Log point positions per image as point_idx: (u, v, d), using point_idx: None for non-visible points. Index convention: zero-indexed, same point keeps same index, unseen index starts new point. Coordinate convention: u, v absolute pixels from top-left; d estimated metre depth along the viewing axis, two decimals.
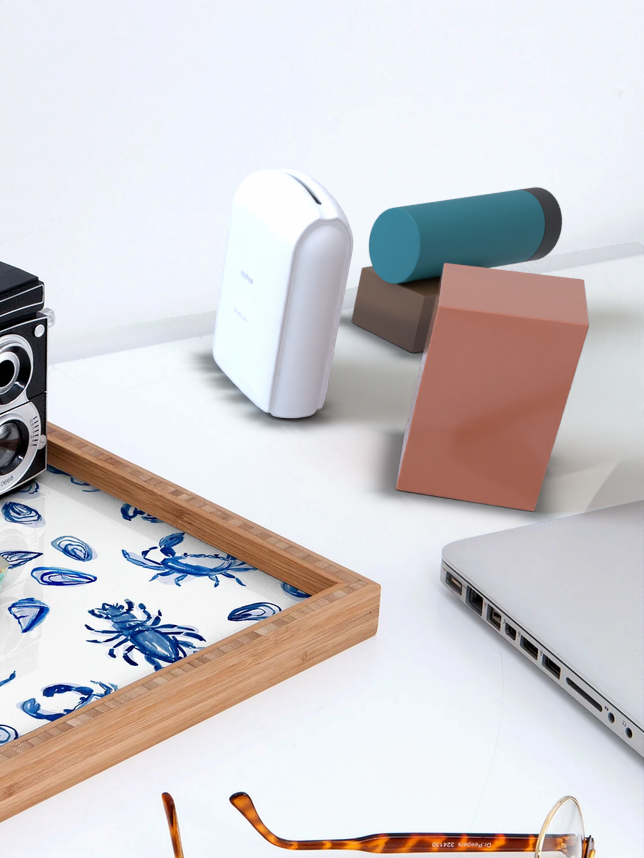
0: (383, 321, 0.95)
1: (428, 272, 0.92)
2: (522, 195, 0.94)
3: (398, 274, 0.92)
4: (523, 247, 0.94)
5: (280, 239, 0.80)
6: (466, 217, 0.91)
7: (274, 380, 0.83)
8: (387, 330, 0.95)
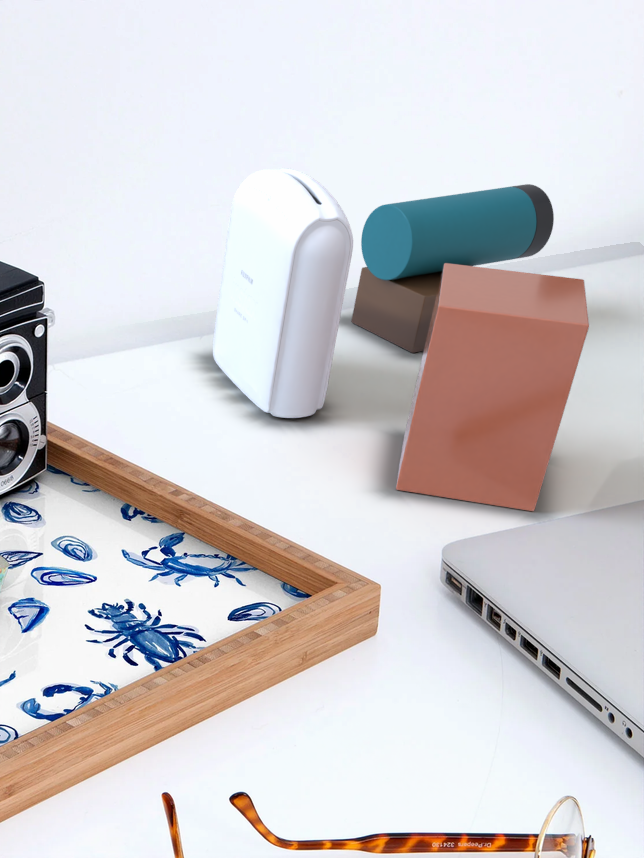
0: (383, 321, 0.95)
1: (426, 259, 0.92)
2: (506, 188, 0.95)
3: (396, 267, 0.92)
4: (518, 233, 0.94)
5: (280, 239, 0.80)
6: (453, 205, 0.92)
7: (274, 380, 0.83)
8: (387, 330, 0.95)
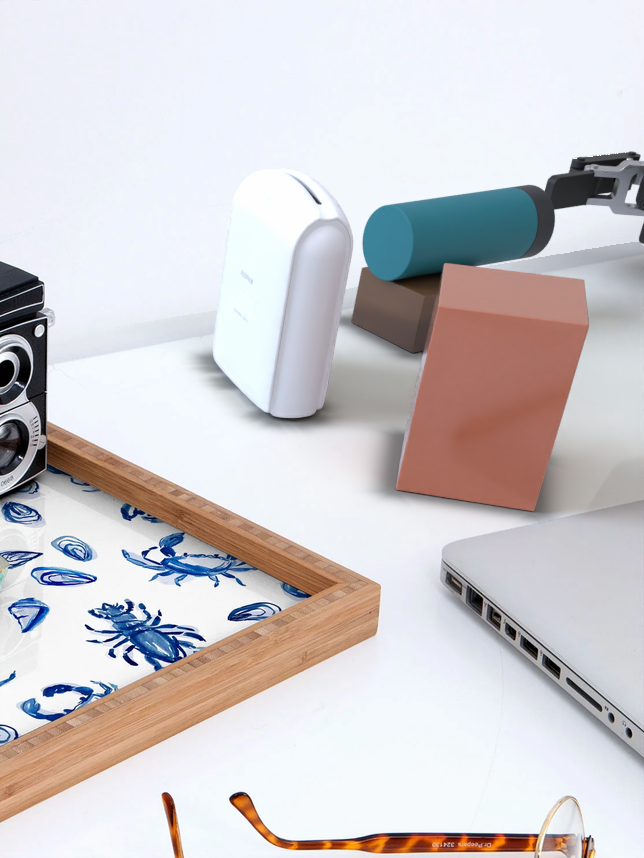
0: (383, 321, 0.95)
1: (426, 261, 0.92)
2: (509, 189, 0.95)
3: (396, 268, 0.92)
4: (519, 235, 0.94)
5: (280, 239, 0.80)
6: (455, 207, 0.92)
7: (274, 380, 0.83)
8: (387, 330, 0.95)
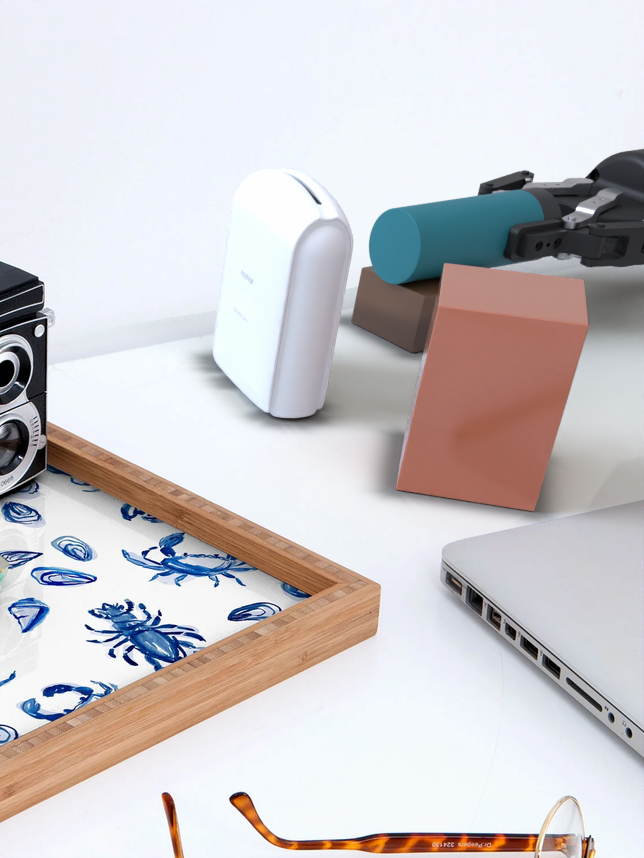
0: (383, 321, 0.95)
1: (428, 272, 0.92)
2: (522, 196, 0.94)
3: (398, 275, 0.92)
4: None
5: (280, 239, 0.80)
6: (467, 218, 0.91)
7: (274, 380, 0.83)
8: (387, 330, 0.95)
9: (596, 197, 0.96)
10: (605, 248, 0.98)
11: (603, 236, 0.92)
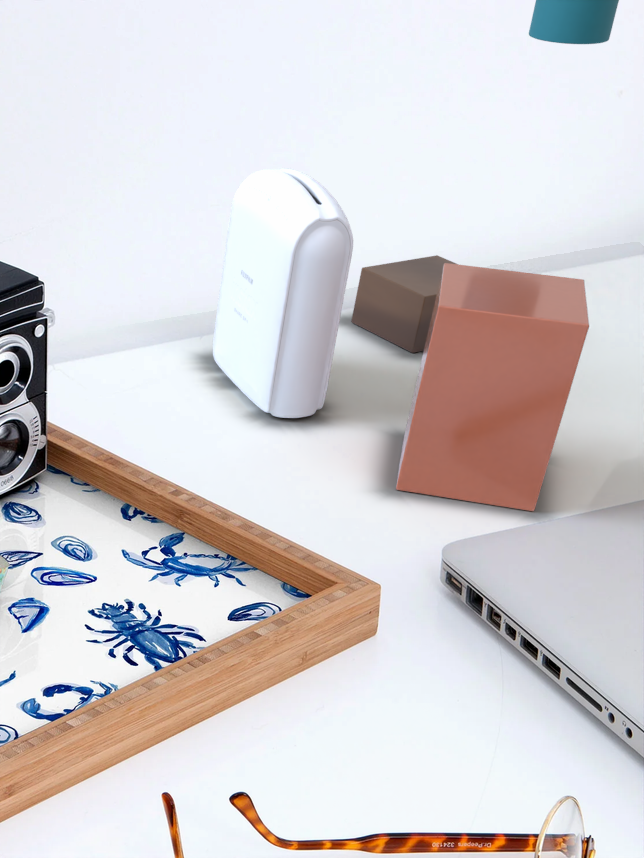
0: (383, 321, 0.95)
1: None
2: None
3: None
4: None
5: (280, 239, 0.80)
6: None
7: (274, 380, 0.83)
8: (387, 330, 0.95)
9: None
10: None
11: None
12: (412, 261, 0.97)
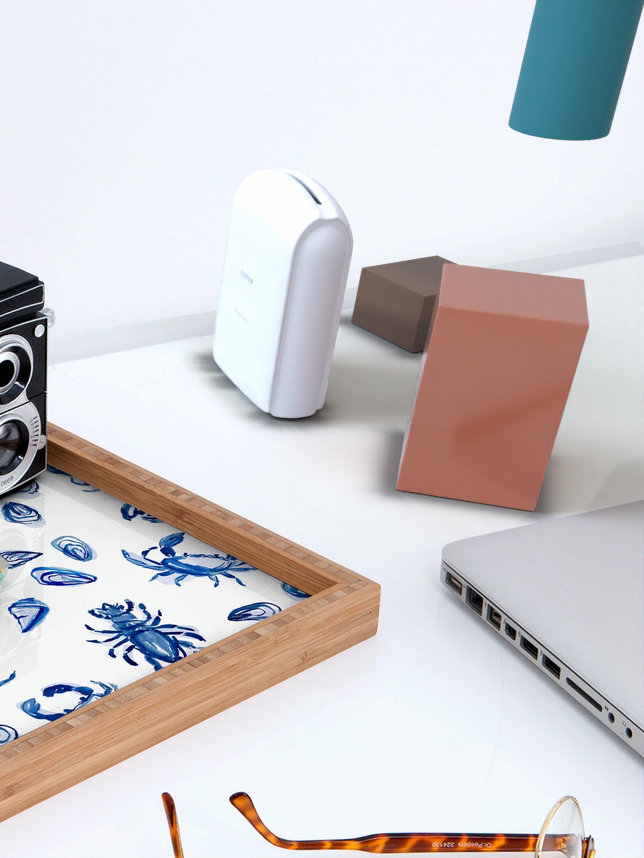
0: (383, 321, 0.95)
1: (617, 102, 0.68)
2: None
3: None
4: None
5: (280, 239, 0.80)
6: (579, 44, 0.66)
7: (274, 380, 0.83)
8: (387, 330, 0.95)
9: None
10: None
11: None
12: (412, 261, 0.97)
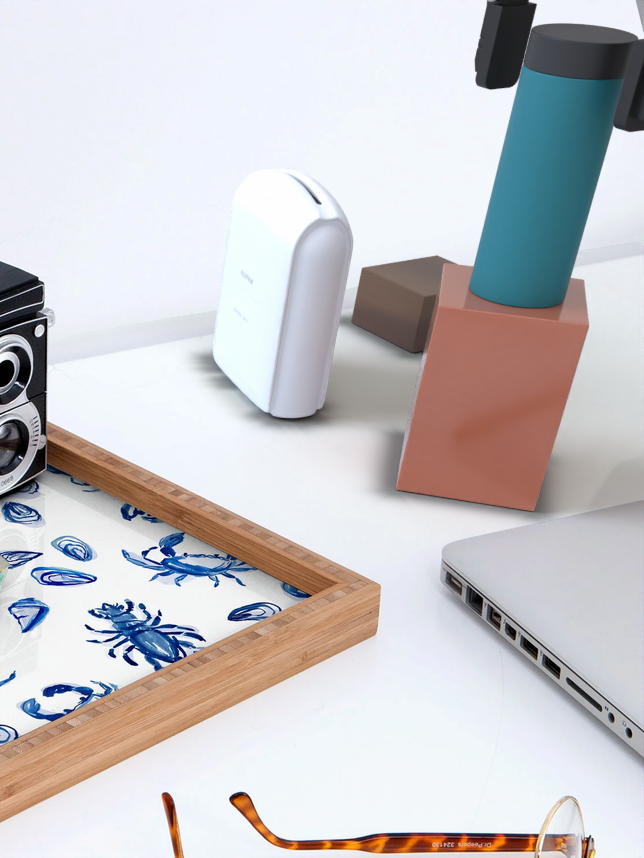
0: (383, 321, 0.95)
1: (571, 271, 0.72)
2: (544, 95, 0.66)
3: None
4: (612, 112, 0.67)
5: (280, 239, 0.80)
6: (535, 221, 0.69)
7: (274, 380, 0.83)
8: (387, 330, 0.95)
9: None
10: None
11: None
12: (412, 261, 0.97)
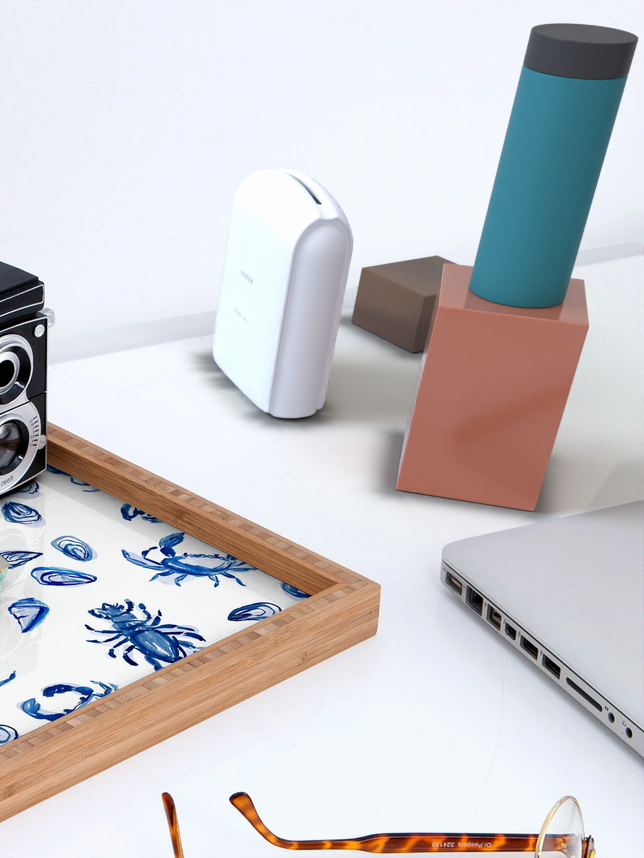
0: (383, 321, 0.95)
1: (571, 271, 0.72)
2: (544, 95, 0.66)
3: None
4: (612, 112, 0.67)
5: (280, 239, 0.80)
6: (535, 221, 0.69)
7: (274, 380, 0.83)
8: (387, 330, 0.95)
9: None
10: None
11: None
12: (412, 261, 0.97)
